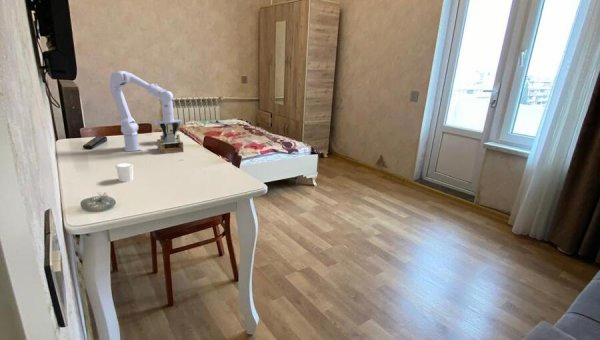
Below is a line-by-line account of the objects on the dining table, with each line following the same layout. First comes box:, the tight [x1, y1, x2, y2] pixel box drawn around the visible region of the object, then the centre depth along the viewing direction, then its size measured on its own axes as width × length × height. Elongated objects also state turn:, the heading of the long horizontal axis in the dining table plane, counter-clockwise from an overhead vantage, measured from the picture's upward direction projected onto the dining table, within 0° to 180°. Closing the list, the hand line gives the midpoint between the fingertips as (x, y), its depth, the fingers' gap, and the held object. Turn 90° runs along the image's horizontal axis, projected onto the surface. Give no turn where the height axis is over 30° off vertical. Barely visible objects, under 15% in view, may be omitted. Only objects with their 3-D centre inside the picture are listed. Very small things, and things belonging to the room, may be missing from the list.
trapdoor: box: [159, 134, 179, 144], centre depth 192 cm, size 10×9×3 cm
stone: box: [165, 133, 175, 143], centre depth 190 cm, size 4×4×4 cm
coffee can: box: [161, 123, 181, 141], centre depth 207 cm, size 10×10×14 cm
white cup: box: [115, 162, 134, 183], centre depth 144 cm, size 7×7×7 cm
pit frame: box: [156, 138, 184, 155], centre depth 192 cm, size 13×12×6 cm
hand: (169, 136), depth 189 cm, fingers closed on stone, 4 cm apart
